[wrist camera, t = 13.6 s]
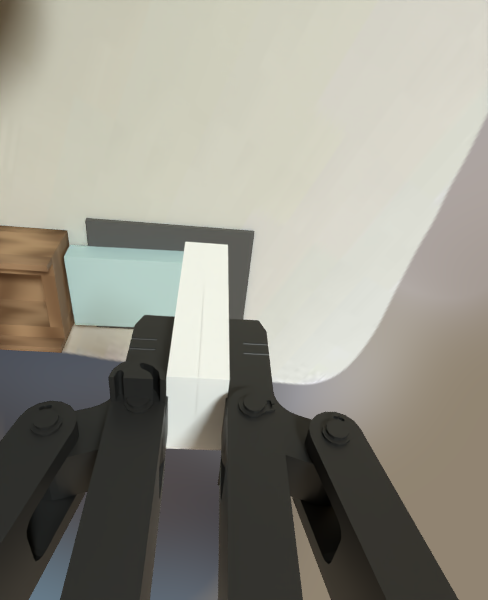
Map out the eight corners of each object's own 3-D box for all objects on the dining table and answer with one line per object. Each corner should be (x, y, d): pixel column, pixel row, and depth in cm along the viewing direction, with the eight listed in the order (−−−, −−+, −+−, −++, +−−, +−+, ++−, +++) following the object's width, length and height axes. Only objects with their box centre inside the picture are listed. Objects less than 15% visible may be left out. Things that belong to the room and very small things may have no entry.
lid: (80, 311, 50) (75, 324, 48) (70, 245, 45) (63, 256, 43) (192, 316, 51) (191, 329, 49) (193, 251, 46) (192, 263, 44)
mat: (97, 324, 52) (96, 326, 51) (86, 218, 44) (85, 220, 44) (240, 332, 53) (241, 334, 53) (254, 231, 45) (254, 233, 45)
